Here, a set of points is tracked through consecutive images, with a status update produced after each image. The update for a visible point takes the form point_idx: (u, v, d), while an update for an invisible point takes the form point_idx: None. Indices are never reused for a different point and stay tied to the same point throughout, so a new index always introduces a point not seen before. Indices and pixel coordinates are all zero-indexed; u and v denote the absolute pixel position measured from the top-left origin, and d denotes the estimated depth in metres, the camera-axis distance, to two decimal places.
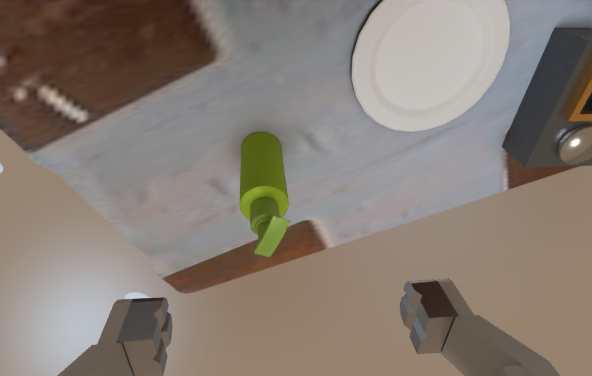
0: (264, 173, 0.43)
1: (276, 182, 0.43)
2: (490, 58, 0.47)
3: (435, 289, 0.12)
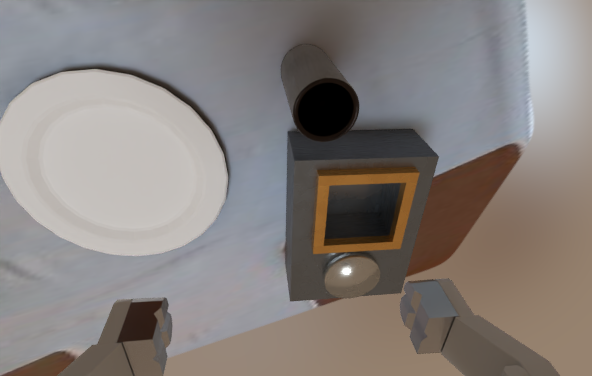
0: None
1: None
2: (204, 172, 0.36)
3: (435, 289, 0.12)
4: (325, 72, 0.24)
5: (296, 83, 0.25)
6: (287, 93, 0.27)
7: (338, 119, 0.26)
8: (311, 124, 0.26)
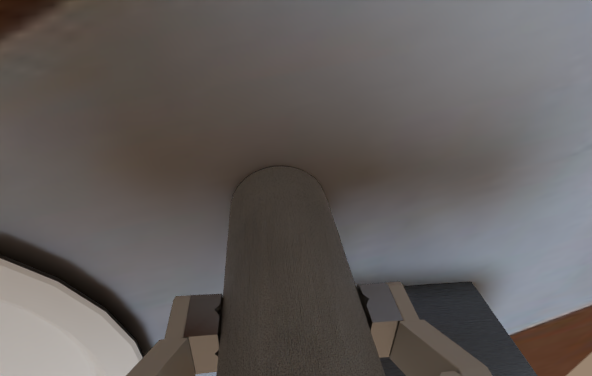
0: None
1: None
2: (103, 369, 0.20)
3: (383, 292, 0.12)
4: (306, 350, 0.08)
5: (228, 354, 0.09)
6: None
7: None
8: None
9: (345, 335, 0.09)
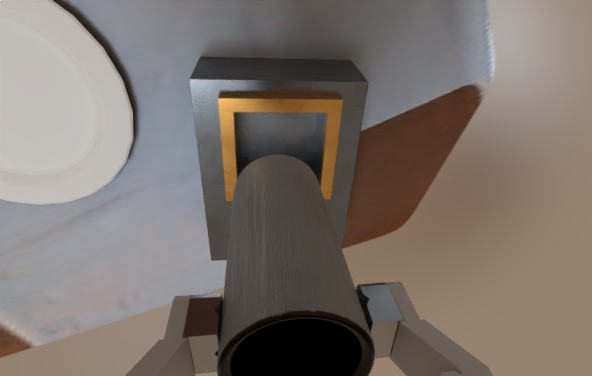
0: None
1: None
2: (102, 102, 0.30)
3: (384, 292, 0.12)
4: (295, 279, 0.10)
5: (232, 289, 0.11)
6: None
7: (329, 345, 0.12)
8: (272, 352, 0.12)
9: (328, 272, 0.11)
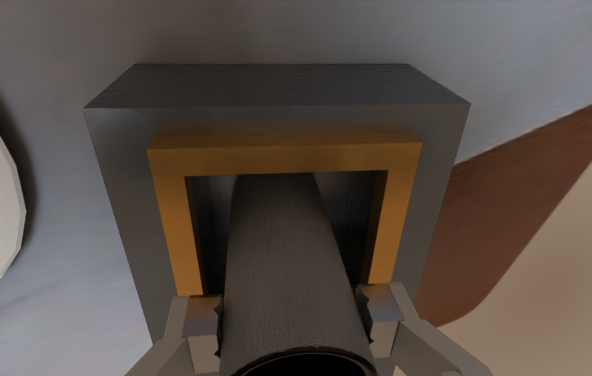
0: None
1: None
2: None
3: (384, 292, 0.12)
4: (297, 308, 0.10)
5: (232, 315, 0.11)
6: None
7: (331, 365, 0.12)
8: (273, 372, 0.12)
9: (331, 298, 0.10)
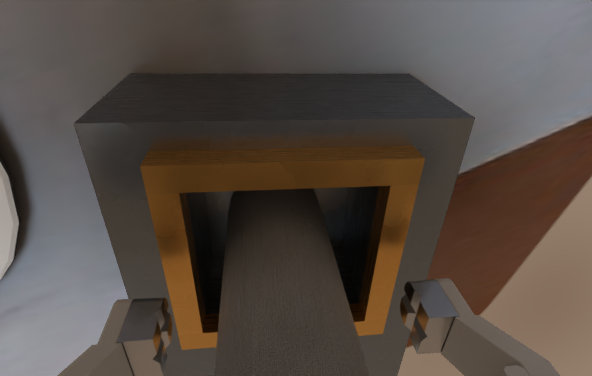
0: None
1: None
2: None
3: (435, 289, 0.12)
4: (293, 334, 0.09)
5: (226, 339, 0.10)
6: None
7: None
8: None
9: (329, 322, 0.10)
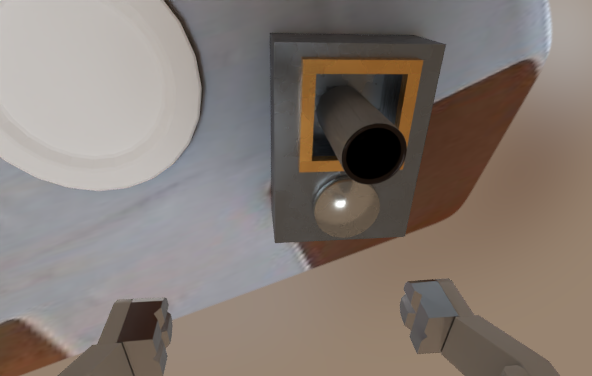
0: None
1: None
2: (173, 78, 0.31)
3: (435, 289, 0.12)
4: (373, 117, 0.24)
5: (342, 127, 0.25)
6: (330, 135, 0.27)
7: (382, 161, 0.26)
8: (355, 166, 0.26)
9: (385, 118, 0.25)
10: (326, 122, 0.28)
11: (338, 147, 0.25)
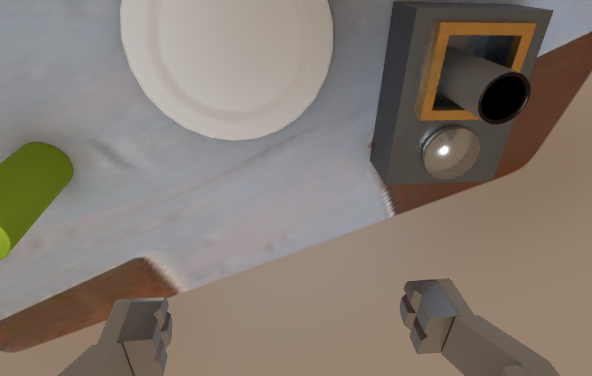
0: None
1: None
2: (312, 41, 0.36)
3: (435, 289, 0.12)
4: (504, 68, 0.30)
5: (476, 77, 0.31)
6: (457, 86, 0.33)
7: (502, 107, 0.32)
8: None
9: None
10: (448, 77, 0.34)
11: (473, 93, 0.30)
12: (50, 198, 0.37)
